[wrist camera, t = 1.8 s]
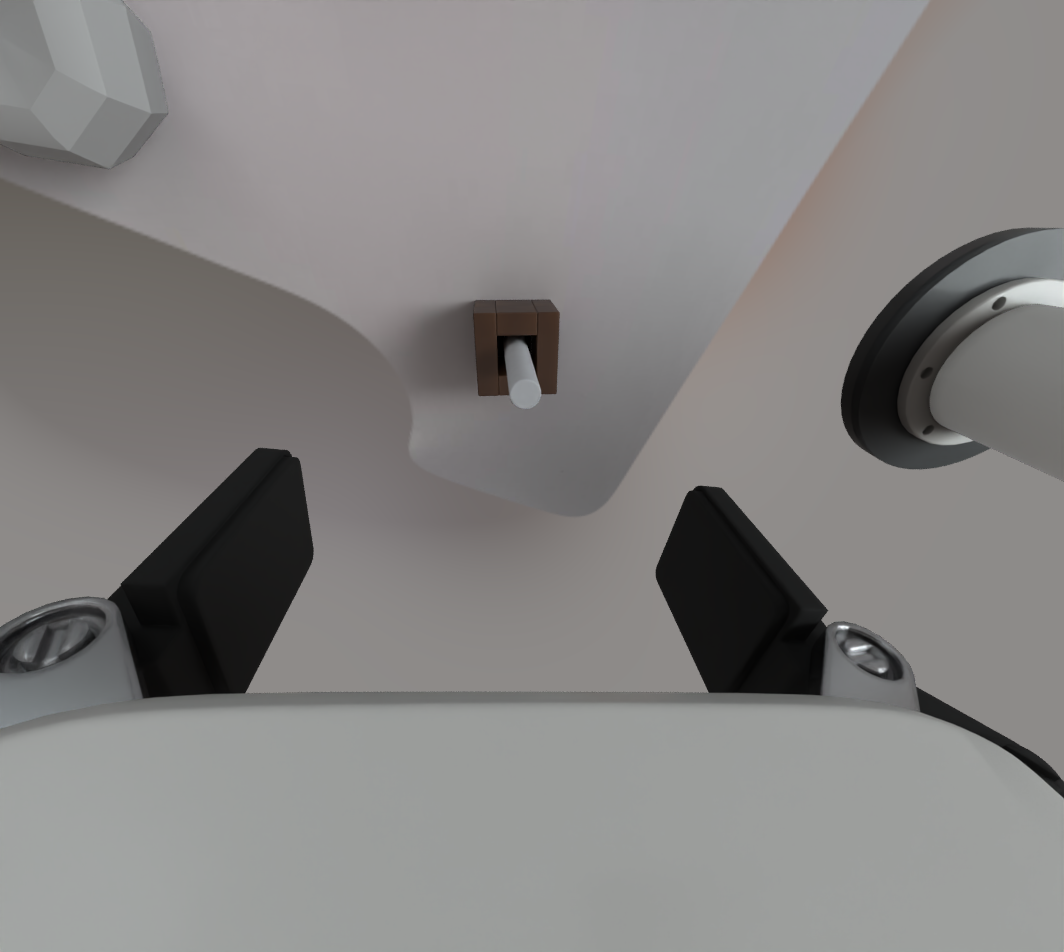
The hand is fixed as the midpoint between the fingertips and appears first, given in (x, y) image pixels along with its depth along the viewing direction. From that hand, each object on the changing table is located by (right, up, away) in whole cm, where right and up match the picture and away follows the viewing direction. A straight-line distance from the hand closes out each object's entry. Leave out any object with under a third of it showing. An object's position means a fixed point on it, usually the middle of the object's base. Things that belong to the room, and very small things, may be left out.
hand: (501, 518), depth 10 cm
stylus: (0, +10, +16) cm, 19 cm away
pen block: (0, +10, +16) cm, 19 cm away
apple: (-18, +19, +9) cm, 28 cm away
